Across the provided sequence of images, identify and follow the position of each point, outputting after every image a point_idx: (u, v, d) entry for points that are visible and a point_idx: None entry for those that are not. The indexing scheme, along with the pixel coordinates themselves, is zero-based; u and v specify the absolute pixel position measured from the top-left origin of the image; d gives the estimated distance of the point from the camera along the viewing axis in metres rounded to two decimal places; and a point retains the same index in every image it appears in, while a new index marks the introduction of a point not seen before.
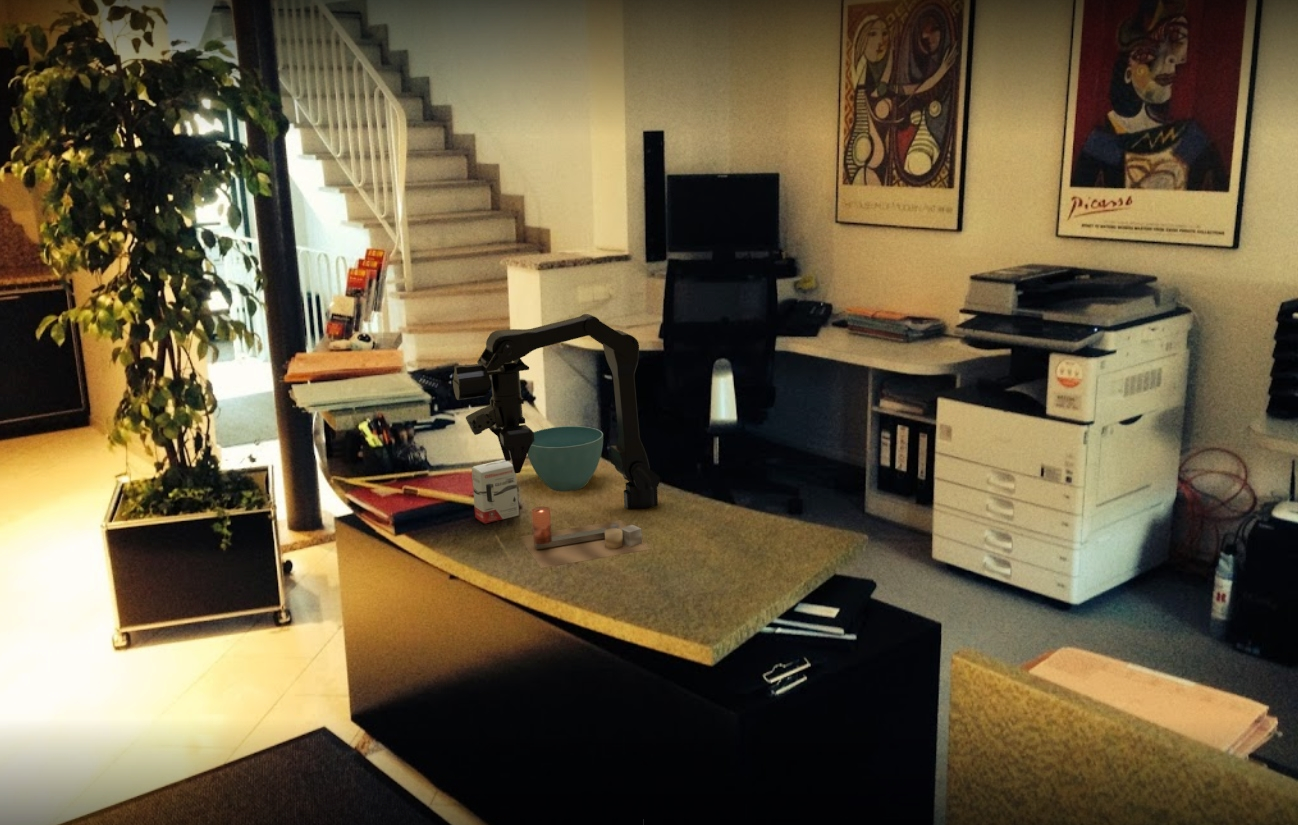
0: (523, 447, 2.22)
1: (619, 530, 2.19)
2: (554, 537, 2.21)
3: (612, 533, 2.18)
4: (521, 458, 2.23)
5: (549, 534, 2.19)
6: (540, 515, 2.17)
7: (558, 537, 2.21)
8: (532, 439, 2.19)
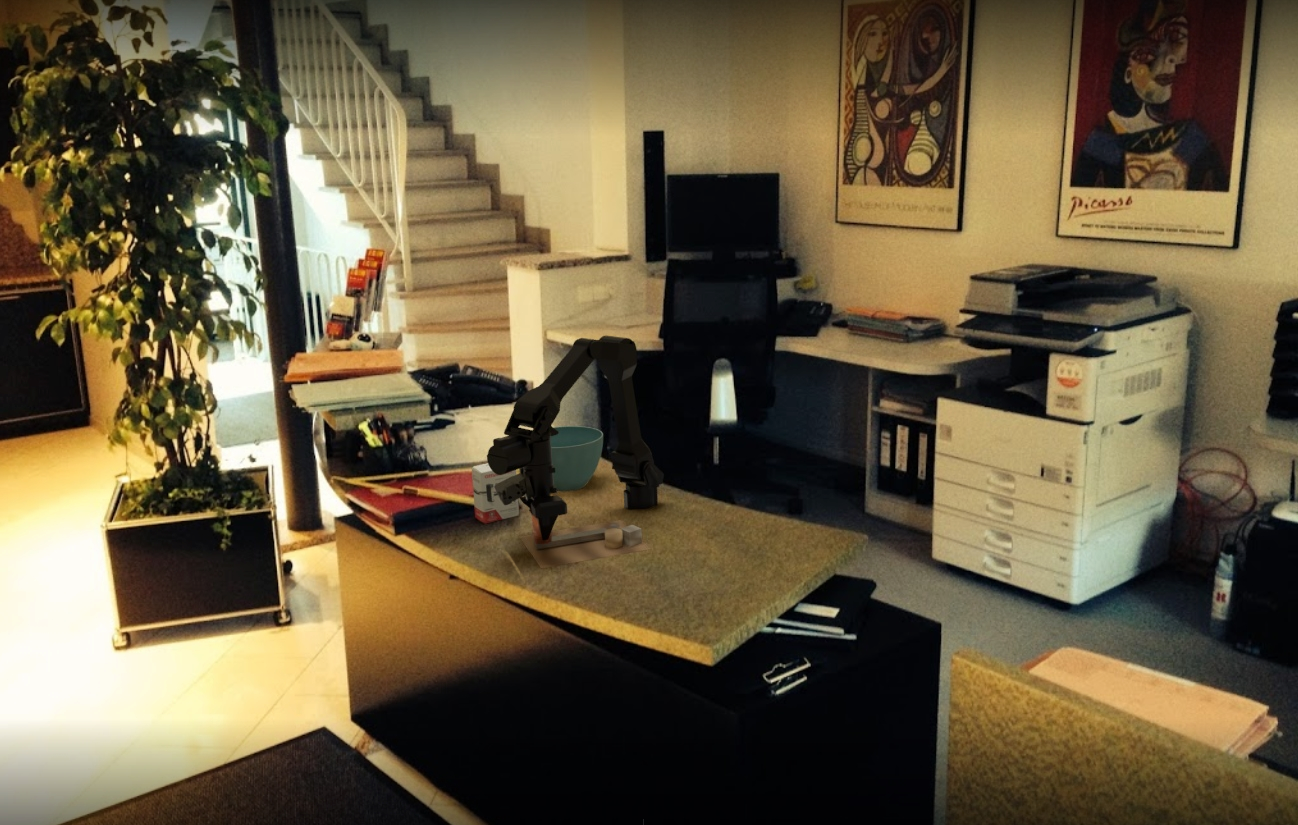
0: None
1: (619, 530, 2.19)
2: (554, 537, 2.21)
3: (612, 533, 2.18)
4: (550, 525, 2.17)
5: None
6: None
7: (558, 537, 2.21)
8: (565, 511, 2.10)
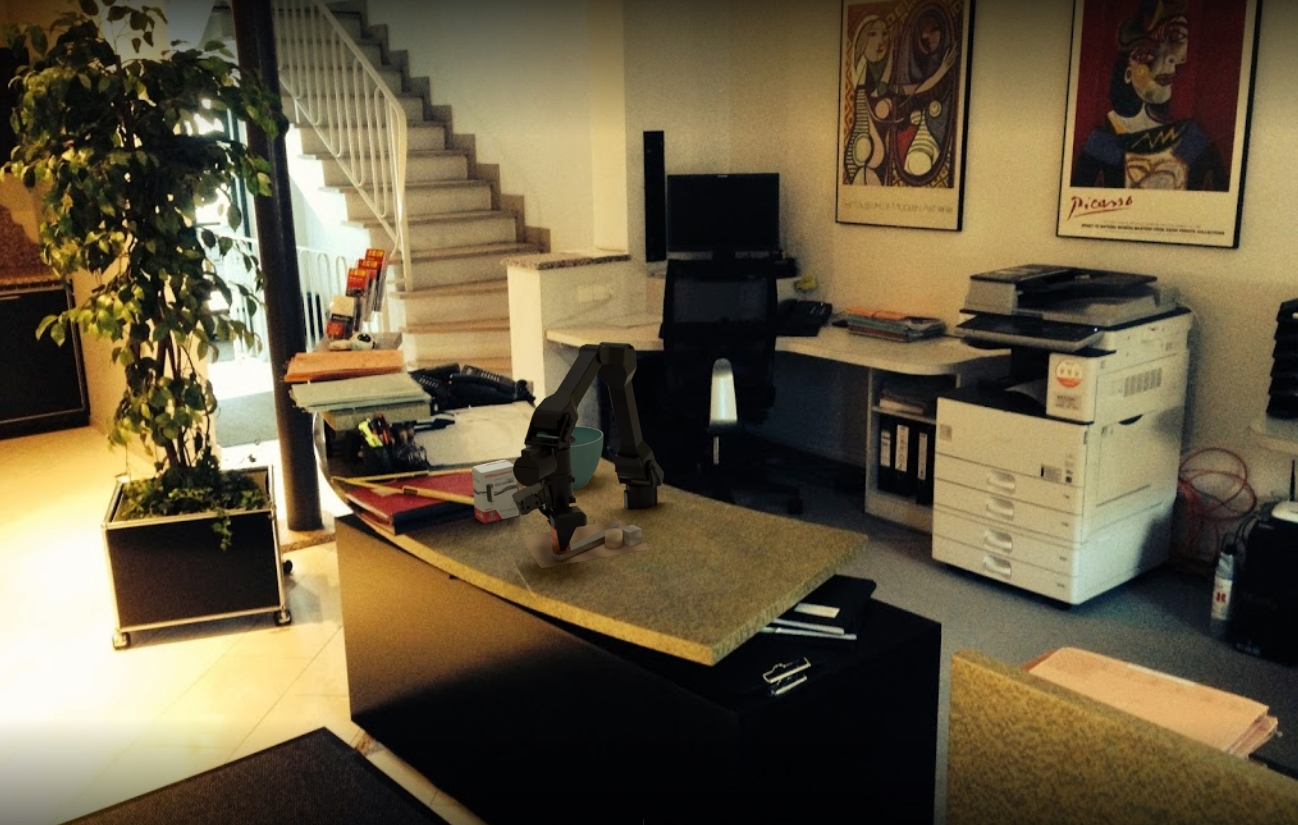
0: None
1: (619, 530, 2.19)
2: None
3: (612, 533, 2.18)
4: (568, 536, 2.11)
5: None
6: None
7: (572, 546, 2.17)
8: (585, 522, 2.04)
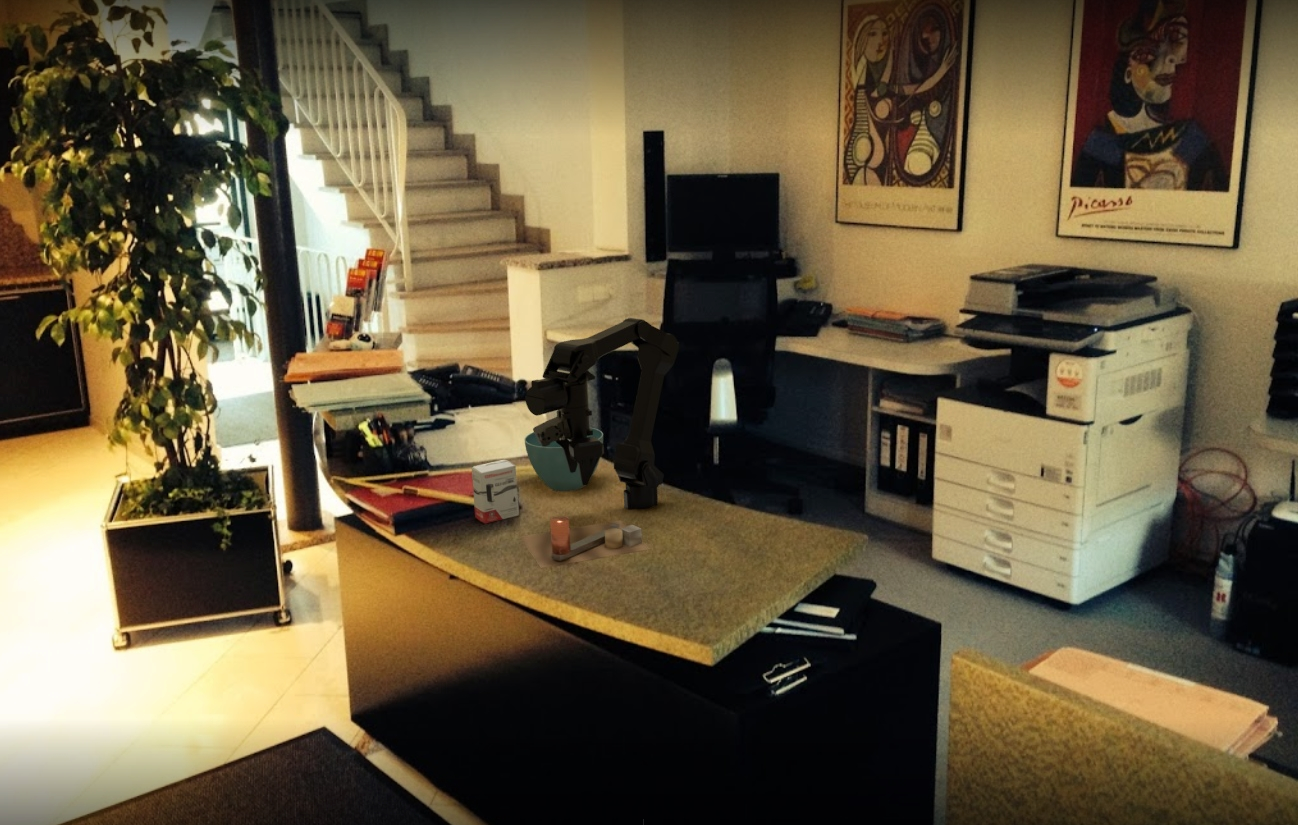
0: (592, 459, 2.20)
1: (619, 530, 2.19)
2: None
3: (612, 533, 2.18)
4: (590, 471, 2.22)
5: None
6: (563, 525, 2.11)
7: (572, 546, 2.17)
8: (602, 451, 2.18)
